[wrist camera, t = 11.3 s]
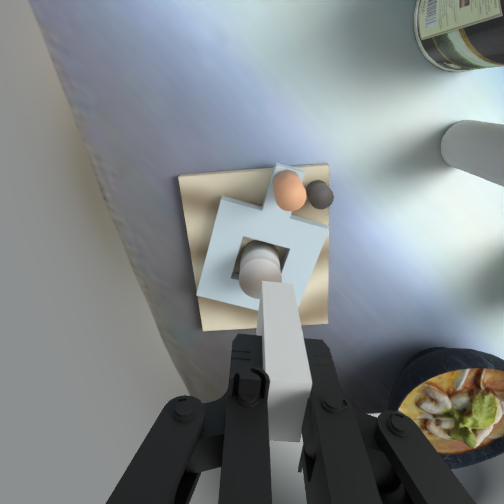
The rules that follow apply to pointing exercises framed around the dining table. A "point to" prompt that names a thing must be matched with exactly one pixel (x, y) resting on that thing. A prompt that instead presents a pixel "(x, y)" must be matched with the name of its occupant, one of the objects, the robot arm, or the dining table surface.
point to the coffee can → (461, 33)
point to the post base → (252, 193)
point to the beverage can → (476, 149)
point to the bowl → (455, 402)
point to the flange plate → (263, 238)
